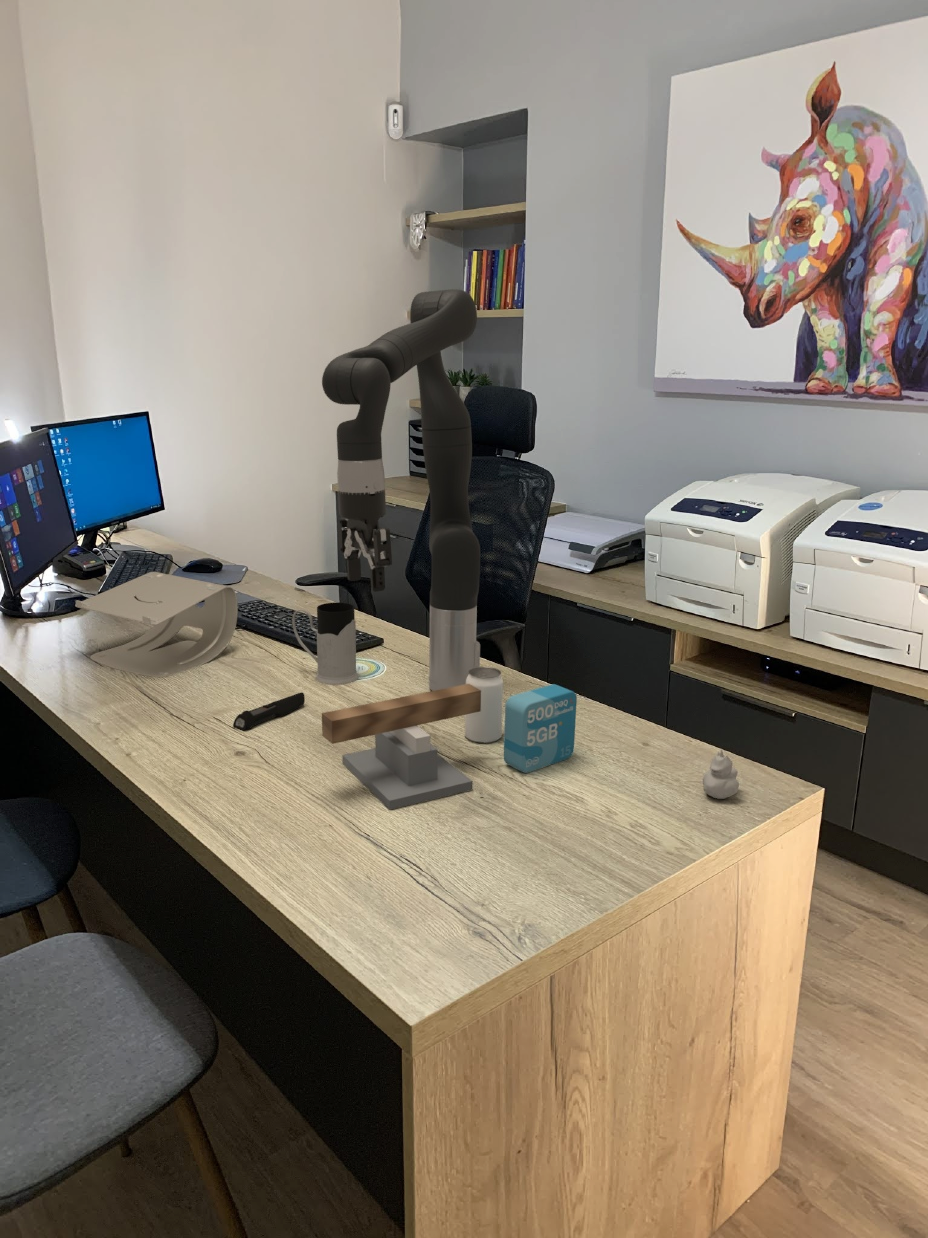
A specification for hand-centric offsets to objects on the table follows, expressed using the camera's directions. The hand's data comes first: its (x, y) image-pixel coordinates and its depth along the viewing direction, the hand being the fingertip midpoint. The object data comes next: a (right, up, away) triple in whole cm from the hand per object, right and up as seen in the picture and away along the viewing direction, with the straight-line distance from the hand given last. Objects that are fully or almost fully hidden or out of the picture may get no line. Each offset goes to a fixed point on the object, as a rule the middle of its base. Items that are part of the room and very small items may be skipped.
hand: (366, 585), depth 152 cm
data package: (+29, -29, 0) cm, 41 cm away
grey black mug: (-13, -17, +38) cm, 44 cm away
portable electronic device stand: (-50, -14, +49) cm, 71 cm away
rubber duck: (+55, -33, -11) cm, 65 cm away
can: (+19, -26, +9) cm, 34 cm away
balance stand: (+7, -30, -6) cm, 32 cm away
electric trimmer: (-19, -24, +16) cm, 35 cm away
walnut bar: (+7, -22, -9) cm, 24 cm away
